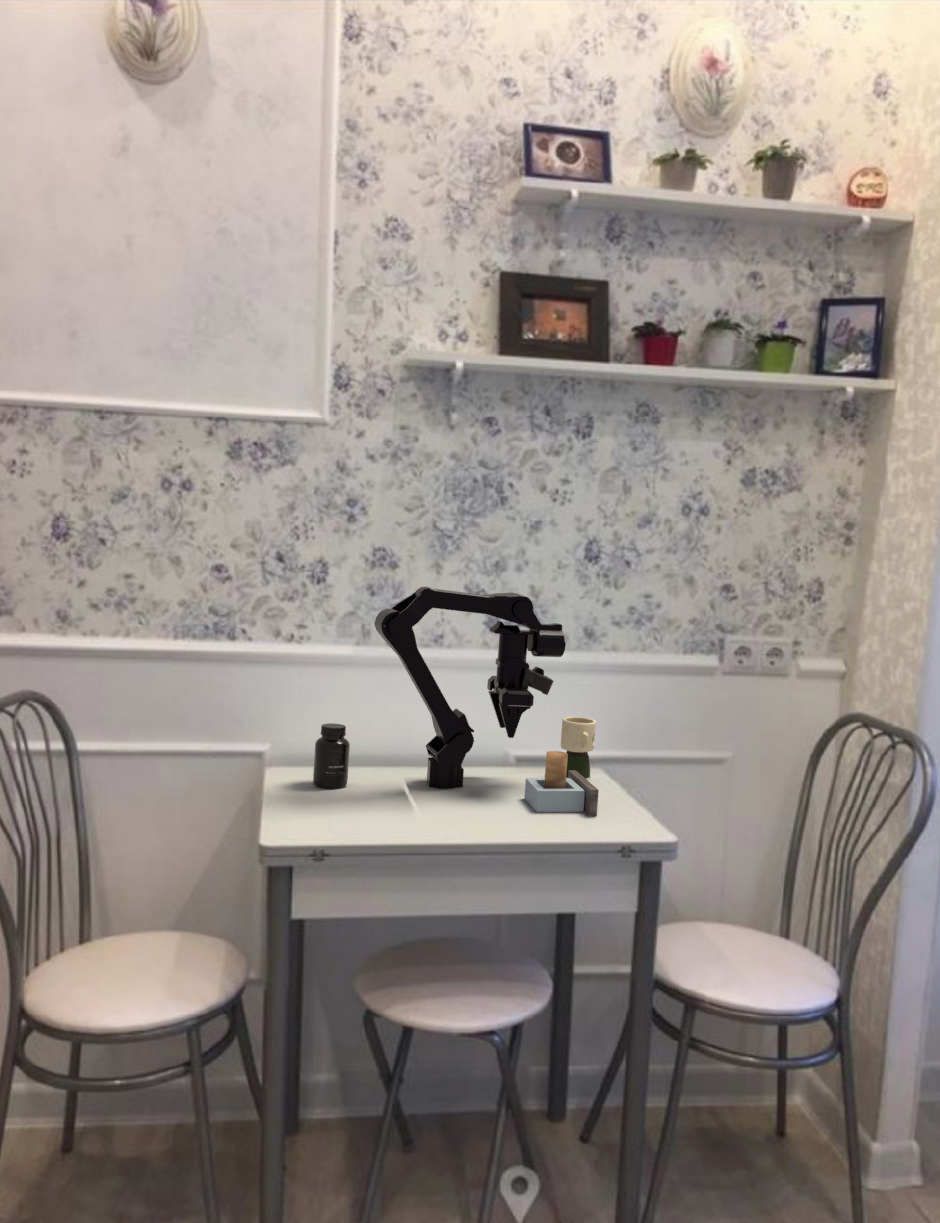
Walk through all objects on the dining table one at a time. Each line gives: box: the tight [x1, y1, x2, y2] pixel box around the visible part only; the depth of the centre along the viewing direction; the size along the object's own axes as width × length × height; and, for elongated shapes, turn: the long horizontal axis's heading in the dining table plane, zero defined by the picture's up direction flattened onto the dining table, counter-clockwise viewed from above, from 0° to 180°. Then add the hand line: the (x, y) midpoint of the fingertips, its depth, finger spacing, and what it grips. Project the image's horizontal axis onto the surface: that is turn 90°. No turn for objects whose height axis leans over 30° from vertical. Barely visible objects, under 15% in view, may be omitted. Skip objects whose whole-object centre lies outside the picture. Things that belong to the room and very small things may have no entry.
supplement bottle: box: [312, 722, 351, 790], centre depth 204 cm, size 7×7×12 cm
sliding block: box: [524, 777, 585, 813], centre depth 195 cm, size 9×9×4 cm
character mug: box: [560, 716, 597, 780], centre depth 218 cm, size 11×7×13 cm, turn 13°
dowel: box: [544, 750, 568, 789], centre depth 195 cm, size 4×4×10 cm
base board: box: [568, 770, 599, 817], centre depth 194 cm, size 18×14×6 cm
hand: (506, 732), depth 207 cm, fingers open, 9 cm apart
